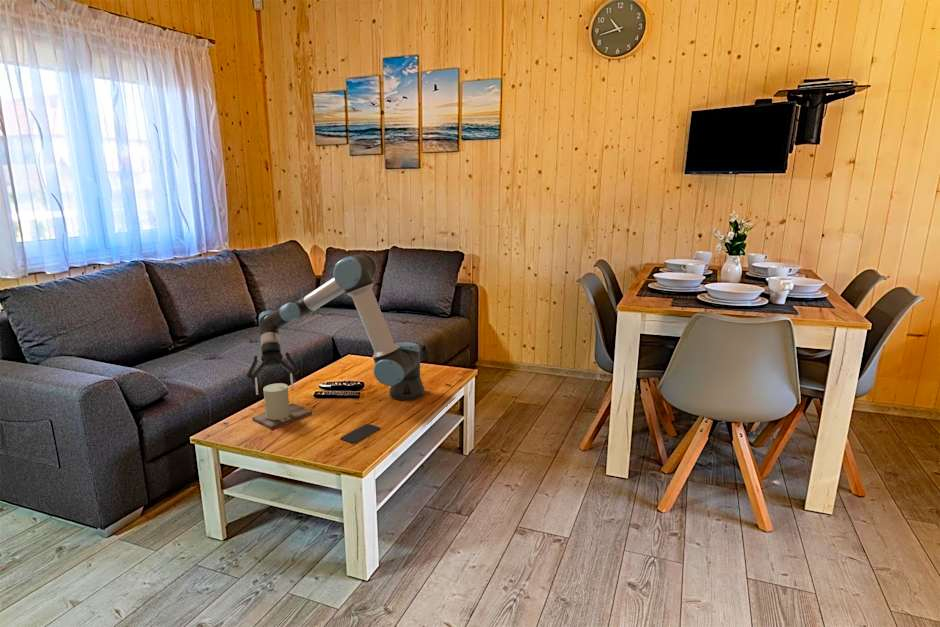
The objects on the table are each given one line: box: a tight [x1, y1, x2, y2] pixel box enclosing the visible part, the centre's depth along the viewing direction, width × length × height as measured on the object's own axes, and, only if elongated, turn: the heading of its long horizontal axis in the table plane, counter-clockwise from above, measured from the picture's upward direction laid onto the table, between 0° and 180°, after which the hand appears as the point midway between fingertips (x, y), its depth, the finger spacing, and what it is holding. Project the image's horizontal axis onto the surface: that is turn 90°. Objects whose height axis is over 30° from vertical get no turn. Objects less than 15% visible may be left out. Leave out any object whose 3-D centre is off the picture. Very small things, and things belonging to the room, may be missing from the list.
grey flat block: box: [251, 402, 313, 430], centre depth 219 cm, size 13×18×2 cm
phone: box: [340, 423, 381, 444], centre depth 205 cm, size 7×1×15 cm
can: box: [262, 382, 290, 420], centre depth 216 cm, size 9×9×12 cm
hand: (275, 391), depth 224 cm, fingers open, 13 cm apart
